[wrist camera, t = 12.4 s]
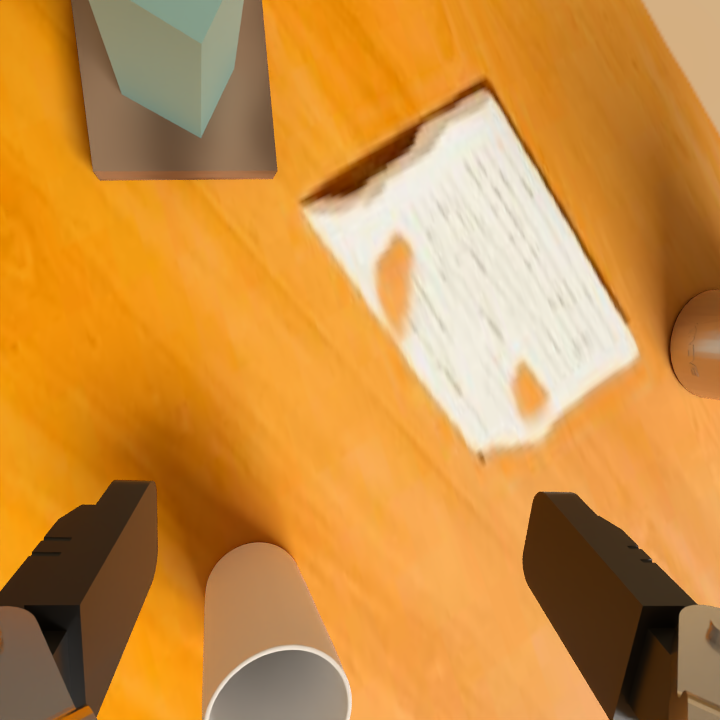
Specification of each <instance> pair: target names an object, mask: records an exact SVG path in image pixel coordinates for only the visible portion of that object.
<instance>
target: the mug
mask: <svg viewBox="0 0 720 720" xmlns="http://www.w3.org/2000/svg"><path fill="white" fill-rule="evenodd" d="M351 706H352V697H351V689H350V685H349V682H348V679H347V676H346V674H345V672H344V670H343V668H342V665H341V662H340V660H339V657H338V655H337V652H336V650H335V648H334V645H333V643H332V641H331V639H330V636H329V634H328V632H327V630H326V628H325V625H324V623H323V621H322V619H321V616H320V614H319V612H318V610H317V608H316V605H315V603H314V601H313V598H312V596H311V594H310V592H309V589H308V587H307V585H306V583H305V581H304V579H303V577H302V575H301V573H300V570H299V568H298V566H297V564H296V562H295V561H294V559H293V558H292V556H291V555H290V554H289V553H288V552H286V551H285V550H284V549H282V548H280V547H278V546H276V545H273V544H270V543H264V542H255V543H249V544H245V545H242V546H239V547H237V548H235V549H233V550H231V551H230V552H228V553H227V554H226V555H225V556H223V557H222V558H221V559H220V560H219V561H218V563H217V564H216V565H215V567H214V568H213V570H212V572H211V574H210V576H209V578H208V581H207V585H206V592H205V608H204V653H203V690H202V720H349V719H350V714H351Z"/></svg>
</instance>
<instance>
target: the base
mask: <svg viewBox="0 0 720 720" xmlns="http://www.w3.org/2000/svg"><path fill="white" fill-rule="evenodd" d="M71 3H72V11H73V18H74V26H75V34H76V42H77V50H78V57H79V65H80V73H81V81H82V88H83V96H84V104H85V112H86V119H87V127H88V135H89V143H90V150H91V158H92V166H93V172H94V173H95V175H96V176H97V177H98V179H99V180H197V179H273V178H274V176H275V174H276V172H277V162H276V151H275V140H274V129H273V118H272V107H271V96H270V85H269V74H268V64H267V53H266V42H265V31H264V20H263V9H262V0H244V3H243V10H242V17H241V24H240V31H239V38H238V45H237V52H236V59H235V66H234V70H233V72H232V74H231V76H230V78H229V80H228V82H227V84H226V87H225V89H224V91H223V93H222V95H221V97H220V99H219V101H218V103H217V105H216V108H215V110H214V112H213V114H212V116H211V118H210V120H209V122H208V124H207V126H206V128H205V131H204V133H203V135H202V137H201V138H199V137H198V136H196V135H194V134H192V133H190V132H189V131H187V130H185V129H183V128H182V127H180V126H178V125H176V124H174V123H173V122H171V121H169V120H167V119H165V118H164V117H162V116H160V115H158V114H156V113H155V112H153V111H151V110H149V109H147V108H146V107H144V106H142V105H140V104H138V103H137V102H135V101H133V100H131V99H129V98H128V97H126V96H124V95H122V93H121V90H120V88H119V85H118V82H117V79H116V76H115V73H114V71H113V68H112V65H111V62H110V59H109V56H108V54H107V51H106V48H105V45H104V42H103V40H102V37H101V34H100V31H99V28H98V25H97V23H96V20H95V17H94V14H93V11H92V8H91V6H90V3H89V0H71Z"/></svg>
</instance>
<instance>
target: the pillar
mask: <svg viewBox="0 0 720 720" xmlns="http://www.w3.org/2000/svg"><path fill="white" fill-rule="evenodd" d="M89 3H90V6H91V8H92V11H93V14H94V17H95V20H96V23H97V25H98V28H99V31H100V34H101V37H102V40H103V42H104V45H105V48H106V51H107V54H108V56H109V59H110V62H111V65H112V68H113V71H114V73H115V76H116V79H117V82H118V85H119V88H120V90H121V93H122V95H124V96H126V97H128V98H129V99H131V100H133V101H135V102H137V103H138V104H140V105H142V106H144V107H146V108H147V109H149V110H151V111H153V112H155V113H156V114H158V115H160V116H162V117H164V118H165V119H167V120H169V121H171V122H173V123H174V124H176V125H178V126H180V127H182V128H183V129H185V130H187V131H189V132H190V133H192V134H194V135H196V136H198V137H199V138H201V137H202V135H203V133H204V131H205V128H206V126H207V124H208V122H209V120H210V118H211V116H212V114H213V112H214V110H215V108H216V105H217V103H218V101H219V99H220V97H221V95H222V93H223V91H224V89H225V87H226V84H227V82H228V80H229V78H230V76H231V74H232V72H233V70H234V66H235V59H236V52H237V45H238V38H239V31H240V24H241V17H242V10H243V3H244V0H89Z"/></svg>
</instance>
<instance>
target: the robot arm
mask: <svg viewBox="0 0 720 720" xmlns="http://www.w3.org/2000/svg"><path fill="white" fill-rule="evenodd" d="M670 352H671V361H672V365H673V369H674V372H675V374H676V376H677V378H678V380H679V381H680V383H681V384H682V385H683V386H684V387H685V389H687V390H688V391H689V392H691V393H692V394H694V395H697V396H699V397H704V398H710V399H716V400H720V290H708V291H705V292H703V293H700V294H698V295H697V296H695V297H694V298H692V299H691V300H690V301H689V302H688V303H687V304H686V305H685V306H684V308H683V309H682V311H681V312H680V314H679V316H678V318H677V320H676V322H675V325H674V328H673V332H672V336H671V346H670ZM157 553H158V538H157V490H156V484H155V482H154V481H137V480H114V481H113V482H112V483H111V484H110V486H109V487H108V489H107V490H106V491H105V493H104V494H103V495H102V497H101V498H100V500H99V501H98V502H97V504H96V505H81V506H79V507H77V508H76V509H74V510H73V511H71V512H69V513H68V514H66V515H65V516H63V517H61V518H60V519H58V521H57V522H56V523H55V524H54V525H53V527H52V528H51V529H50V530H49V532H48V533H47V534H46V535H45V537H44V541H41V542H40V543H39V544H38V545H37V547H36V548H35V549H34V550H33V552H32V555H31V556H29V557H28V558H27V559H26V560H25V561H24V563H23V564H22V565H21V566H20V568H19V569H18V570H17V571H16V573H15V574H14V575H13V576H12V578H11V579H10V580H9V581H8V583H7V584H6V585H5V586H4V588H3V589H2V590H1V591H0V720H97V718H96V717H97V715H98V712H99V710H100V707H101V705H102V702H103V700H104V698H105V695H106V693H107V690H108V688H109V685H110V683H111V681H112V678H113V676H114V673H115V671H116V669H117V666H118V664H119V661H120V659H121V656H122V654H123V652H124V649H125V647H126V644H127V642H128V639H129V637H130V635H131V632H132V630H133V627H134V625H135V622H136V620H137V618H138V615H139V613H140V610H141V608H142V606H143V603H144V601H145V598H146V596H147V593H148V591H149V589H150V586H151V584H152V581H153V578H154V574H155V569H156V563H157ZM523 571H524V576H525V579H526V582H527V584H528V586H529V588H530V589H531V591H532V593H533V594H534V596H535V598H536V599H537V601H538V602H539V604H540V606H541V607H542V609H543V611H544V612H545V614H546V616H547V617H548V619H549V621H550V622H551V624H552V626H553V627H554V629H555V631H556V632H557V634H558V635H559V637H560V639H561V640H562V642H563V644H564V645H565V647H566V649H567V650H568V652H569V654H570V655H571V657H572V659H573V660H574V662H575V664H576V665H577V667H578V668H579V670H580V672H581V673H582V675H583V677H584V678H585V680H586V682H587V683H588V685H589V687H590V688H591V690H592V692H593V693H594V695H595V697H596V698H597V700H598V701H599V703H600V705H601V706H602V708H603V710H604V711H605V713H606V715H607V716H608V718H609V720H720V608H716V607H712V606H706V605H698V604H697V603H695V602H694V601H693V600H692V599H691V598H690V597H689V596H688V595H687V594H686V593H685V592H684V591H683V590H682V589H681V588H680V587H679V586H678V585H677V584H676V583H675V582H674V581H673V580H672V579H671V578H670V577H669V576H668V575H667V574H666V573H665V572H664V571H663V570H662V569H661V568H660V567H659V566H658V565H657V564H656V563H652V559H651V558H650V557H649V556H648V555H647V554H646V553H645V552H644V551H643V550H642V549H639V548H638V545H637V544H636V543H635V542H634V541H633V540H632V539H631V538H630V537H629V536H628V535H627V534H626V533H625V532H624V531H623V530H621V529H620V528H618V527H617V526H615V525H613V524H612V523H610V522H608V521H607V520H605V519H603V518H602V517H600V516H597V515H596V514H595V513H594V512H593V511H592V510H591V509H590V508H589V507H588V506H587V505H586V504H585V503H584V502H583V500H582V499H581V498H580V497H579V496H578V495H576V494H575V493H571V492H538V493H537V494H536V495H535V497H534V500H533V503H532V508H531V514H530V519H529V524H528V530H527V535H526V540H525V546H524V551H523Z"/></svg>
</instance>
